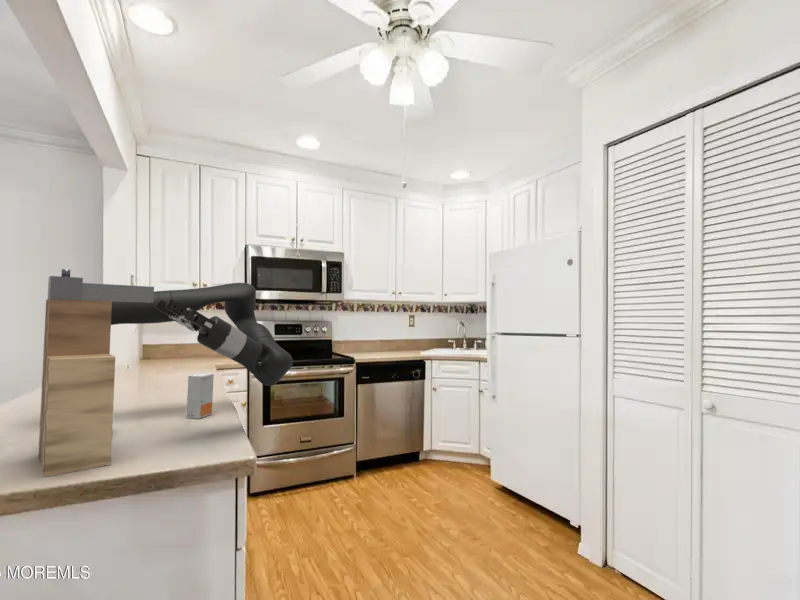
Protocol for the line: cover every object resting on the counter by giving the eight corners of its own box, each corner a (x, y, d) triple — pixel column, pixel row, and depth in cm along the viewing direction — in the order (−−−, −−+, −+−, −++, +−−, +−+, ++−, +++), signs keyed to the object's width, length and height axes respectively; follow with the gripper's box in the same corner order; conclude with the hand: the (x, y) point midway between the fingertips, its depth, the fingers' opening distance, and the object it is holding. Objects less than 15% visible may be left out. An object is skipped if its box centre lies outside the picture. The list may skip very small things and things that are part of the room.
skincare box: (199, 419, 121) (200, 376, 121) (185, 418, 121) (187, 375, 122) (212, 414, 127) (214, 373, 127) (200, 413, 127) (201, 372, 128)
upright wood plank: (38, 455, 88) (46, 299, 89) (97, 446, 95) (103, 301, 96) (44, 476, 77) (53, 298, 78) (110, 464, 84) (117, 300, 85)
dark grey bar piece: (47, 299, 87) (49, 269, 87) (148, 302, 99) (149, 276, 99) (49, 299, 83) (51, 267, 83) (154, 302, 95) (155, 275, 96)
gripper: (219, 324, 115) (163, 290, 105) (242, 325, 104) (181, 288, 95) (204, 349, 112) (144, 316, 103) (225, 353, 101) (161, 317, 92)
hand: (162, 303), depth 99 cm, fingers open, 8 cm apart
